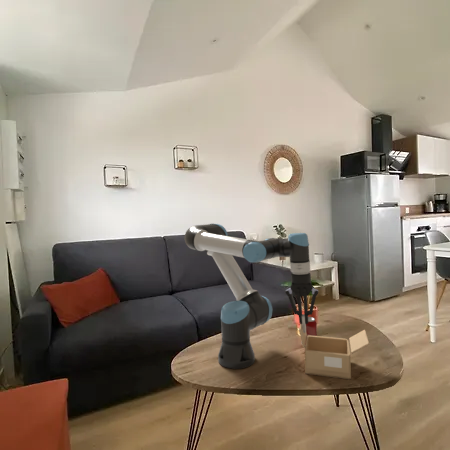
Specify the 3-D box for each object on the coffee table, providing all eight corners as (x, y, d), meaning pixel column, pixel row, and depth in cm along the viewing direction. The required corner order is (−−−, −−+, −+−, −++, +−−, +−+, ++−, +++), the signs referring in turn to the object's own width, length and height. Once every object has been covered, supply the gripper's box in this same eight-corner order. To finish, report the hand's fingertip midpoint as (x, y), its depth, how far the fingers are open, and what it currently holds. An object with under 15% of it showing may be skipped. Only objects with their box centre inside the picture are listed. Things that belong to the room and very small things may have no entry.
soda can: (317, 348, 140) (317, 321, 139) (301, 347, 141) (301, 321, 141) (316, 342, 147) (315, 316, 146) (301, 341, 148) (300, 316, 147)
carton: (305, 374, 119) (304, 351, 118) (307, 356, 133) (307, 335, 133) (350, 380, 114) (350, 356, 113) (348, 360, 128) (348, 338, 128)
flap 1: (302, 317, 132) (301, 318, 132) (300, 329, 119) (298, 329, 119) (306, 334, 132) (305, 334, 132) (304, 347, 119) (303, 347, 119)
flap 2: (368, 343, 112) (369, 344, 112) (364, 329, 124) (365, 330, 124) (351, 352, 114) (352, 353, 114) (349, 338, 126) (349, 339, 126)
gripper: (283, 274, 123) (287, 334, 124) (316, 274, 119) (320, 336, 120) (285, 270, 130) (289, 327, 131) (317, 270, 126) (321, 328, 127)
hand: (304, 331), depth 125 cm, fingers closed
